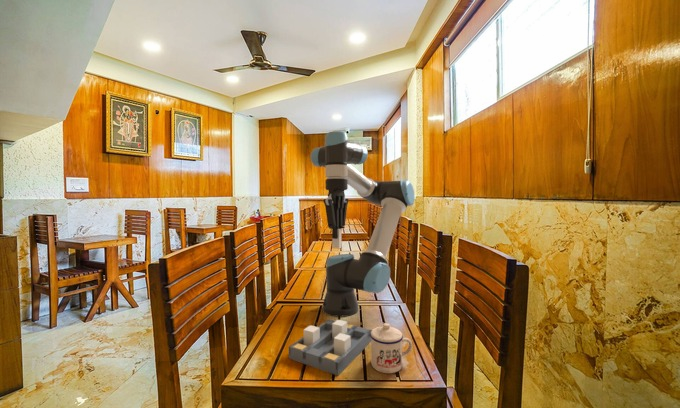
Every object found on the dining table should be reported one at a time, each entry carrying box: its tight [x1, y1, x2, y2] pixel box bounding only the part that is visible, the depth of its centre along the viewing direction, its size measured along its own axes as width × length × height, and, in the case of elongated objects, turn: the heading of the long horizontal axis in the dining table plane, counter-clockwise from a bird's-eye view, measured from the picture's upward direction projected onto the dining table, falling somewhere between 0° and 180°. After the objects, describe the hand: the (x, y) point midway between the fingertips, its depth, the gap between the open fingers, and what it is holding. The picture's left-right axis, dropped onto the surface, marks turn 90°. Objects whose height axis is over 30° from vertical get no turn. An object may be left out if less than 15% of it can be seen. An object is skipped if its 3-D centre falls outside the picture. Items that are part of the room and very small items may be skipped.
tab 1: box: [303, 325, 320, 347], centre depth 91 cm, size 4×4×5 cm
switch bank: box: [288, 319, 373, 376], centre depth 92 cm, size 22×17×4 cm
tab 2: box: [332, 319, 348, 339], centre depth 95 cm, size 4×4×5 cm
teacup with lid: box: [370, 322, 413, 374], centre depth 83 cm, size 12×9×12 cm
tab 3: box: [334, 333, 351, 356], centre depth 86 cm, size 4×4×5 cm
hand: (336, 247), depth 99 cm, fingers closed
